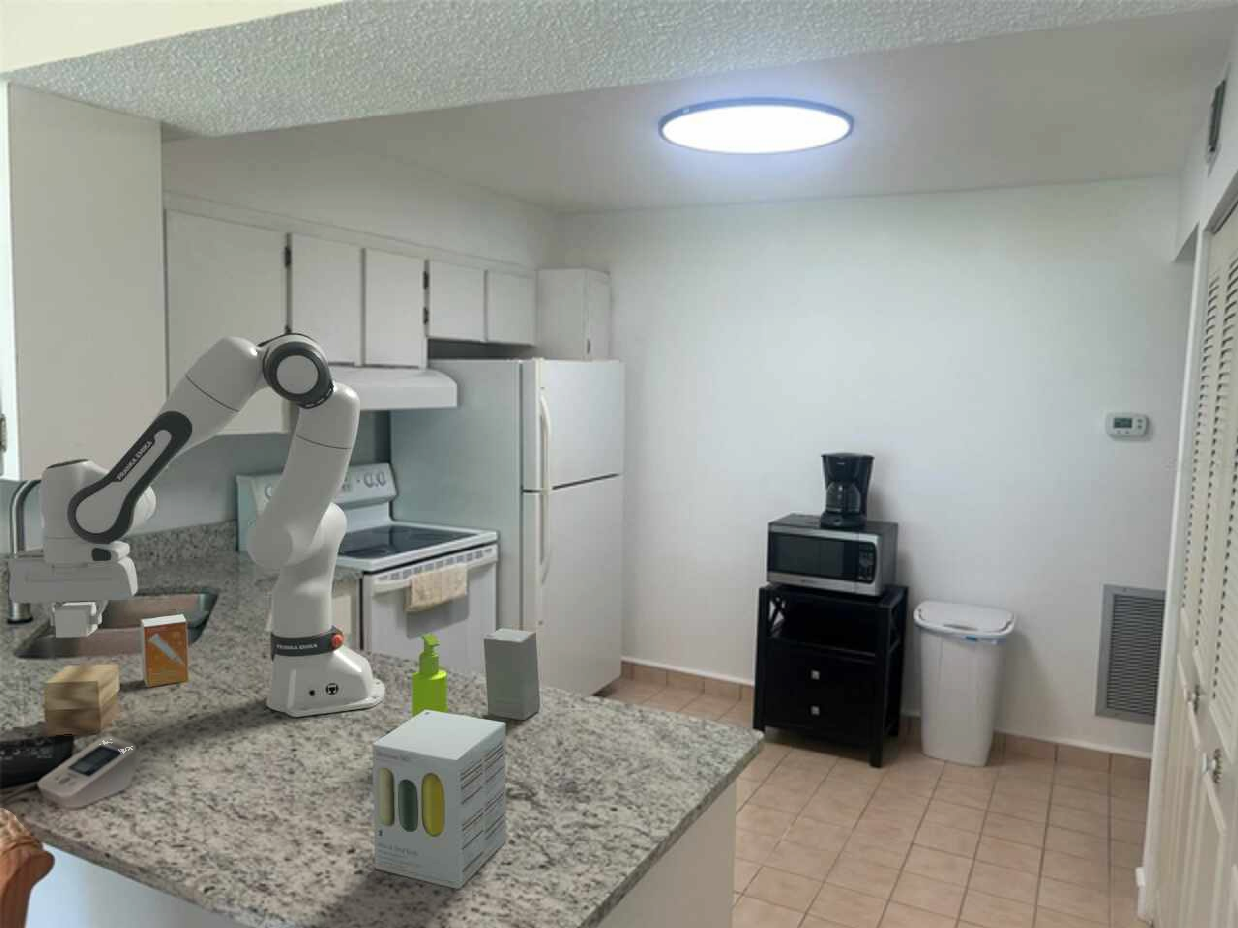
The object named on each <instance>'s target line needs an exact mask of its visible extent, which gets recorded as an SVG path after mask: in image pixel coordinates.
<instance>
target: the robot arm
mask: <svg viewBox="0 0 1238 928" xmlns="http://www.w3.org/2000/svg"><path fill="white" fill-rule="evenodd" d="M328 363H329V362H328V359H327V356H326V353H325V352H324V351H323V349H322V348H321V346H320V345H319V344H318V342H316V340H314V339H313V338H312V337H310V336H308V335H305V334H302V333H299V332H289V333H284V334H281V335H278V336H275V337H272V338H270V339H268V340H265V341H262V342H260V343H258V344H257V345H255V344H254V343H253V342H251V341H249V340H247V339H245V338H243V337H239V336H225V337H223V338H221V339H219V340H218V341H217V342H216V343H215V344H213V345H212V346H211V347H210V348H209V349H207V350H206V351H205V352H204V353H203V354H202V355H201V356H200V357H199V358H198V359H197V360H196V361H195V362H194V363H193V364H192V366H191V367H190V368H189V369H188V370H187V371H186V373H184V375H183V376H182V378H181V379H180V380H179V382H178V383H177V384H176V386H175V387H174V388H173V390H172V391H171V392H170V394H169V396H168V397H167V399H166V400H165V402H164V403H163V405H162V407H161V408H160V409H159V411H158V412H157V413H156V415H155V416H154V418H153V420H151V422H150V424H149V426H148V427H147V428H146V430H145V431H144V432H143V433H142V434H141V435H140V436H139V438H138V439H137V440H136V441H135V442H134V444H132V446H131V447H130V448H129V449H128V450H127V451H126V453H125V454H124V455H123V456H122V457H121V459H119V461H118V462H117V463H116V464H115V465H114V466H113V467H112V468H111V470H107V469H106V468H104V467H101V466H99V465H97V464H96V463H95V462H94V461H92V460H91V459H87V458H81V459H80V458H79V459H72V460H71V459H70V460H66V461H61V462H57V463H53V464H51V465H49V466H48V467H46V468H45V469H44V470H43V472H42V474H41V479H40V496H39V497H40V498H39V499H40V500H39V501H40V512H41V517H43V518H42V519H43V529H42V533H41V535H42V536H41V537H42V550H41V549H40V550H38V549H37V550H29V551H28V550H19V551H17V552H16V553H14V554H12V555H11V556H10V557H9V559H8V571H9V573H10V577H9V589H8V591H9V592H8V593H9V594H8V596H9V599H10V600H11V602H13V603H14V604H39V603H41V608H42V610H43V611H44V613H45V614H46V615H47V617H49V621H50V622H49V623H50V626H51V627H56V625H55V610H56V609H55V607H54V606H55V605H57V604H56V603H73V602H95V606H96V607H97V608H96V613H92V615H90V616H89V619H90V625H96V624H97V625H100V624H101V623H102V622H103V619H102V618H103V616H102V614H103V612H104V611H105V609H106V607H107V605H108V604H109V601H128V600H130V599H132V598H133V597H134V596H135V595H136V594H137V592H138V589H139V586H138V576H137V572H136V571H137V570H136V566H135V564H134V561H133V560H132V559H131V557H129V556H128V555H129V554H130V552H131V551H130V550H131V548H130V545H129V543H127V542H123V541H120V540H119V539H121V538H123V536H125V535H126V534H128V533H129V532H131V531H134V530H136V529H138V528H139V527H140V526H142V525H144V524H145V523H146V522H148V521H149V520H151V518H152V517H153V516H154V515H155V513H156V510H157V506H158V501H157V496H156V493H155V491H154V488H153V487H152V484H153V483H154V482H155V481H156V480H157V479H158V477H159V476H160V475H161V474H162V473H163V471H164V470H166V468H167V467H168V466H169V465H170V464H171V463H172V462H173V461H174V460H176V459H177V458H178V457H179V456H181V455H183V453H185V452H187V451H188V450H190V449H192V448H194V447H195V446H198V445H200V444H202V443H203V442H206V441H208V440H210V439H212V438H213V437H215V436H216V435H217V434H218V433H220V432H221V431H222V430H224V428H226V427H227V426H228V425H229V424H230V423H231V422H232V421H233V420H234V419H235V417H236V416H237V415H238V414H239V413H240V411H241V410H242V409H243V408H244V406H245V405H246V404H247V402H248V401H249V400H250V398H251V397H253V396H254V394H256V393H257V392H259V391H261V390H263V389H267V388H271V389H272V390H273V392H275V393H276V394H277V395H278V396H279V397H281V398H282V399H284V400H287V401H288V402H291V403H293V404H294V405H296V406H298V407H299V415H298V419H297V423H296V426H295V430H294V434H293V437H292V441H291V445H290V448H289V453H288V456H287V459H286V463H285V466H284V469H283V471H282V474H281V476H280V478H279V480H278V482H277V484H276V486H275V488H274V490H273V493H272V494H271V496H270V498H269V499H268V502H267V503H266V505H265V507H264V509H263V511H262V512H261V514H260V515H259V517H258V518H257V519H256V520H255V521H254V523H252V525H251V526H250V528H248V531H247V534H246V538H245V545H246V547H245V548H246V551H247V552H248V555H249V557H250V558H251V559H252V561H253V562H254V563H256V565H259V566H260V567H263V568H266V569H273V570H274V569H280V571H279V574H278V575H279V576H278V578H277V580H276V582H275V584H274V586H273V588H272V591H271V595H270V596H271V597H270V599H271V602H270V603H271V604H270V605H271V625H272V626H271V628H272V630H271V632H270V635H269V656H270V659H271V663H272V664H271V675H270V682H269V683H270V684H269V688H268V693H267V697H266V700H265V705H266V706H267V708H269V709H272V710H274V711H276V712H277V711H278V712H280V713H284V714H287V715H288V716H290V717H293V718H299V717H300V718H301V717H307V716H313V715H321V714H322V715H323V714H330V713H338V712H345V711H351V710H352V711H353V710H354V711H355V710H360V709H368V708H372V707H375V706H377V705H378V704H380V702H381V701H382V700H383V699H384V697H385V692H386V690H385V685H384V683H383V681H382V680H380V679H379V678H374V674H373V670H372V667H371V664H370V663H369V661H368V659H367V658H365V657H364V656H363V655H360V654H359V653H357V652H355V651H354V650H353V649H351V648H349V647H347V646H346V645H344V644H343V643H344V633H343V628H342V627H339V628H338V627H335V626H334V625H333V624H332V623H333V622H332V586H333V579H334V573H335V569H336V564H337V558H338V552H339V550H340V545H341V543H342V540H343V539H344V537H345V536H346V532H347V529H348V528H347V527H348V521H347V517H346V515H345V513H344V511H343V509H341V507H339V505H337V504H336V503H334V502H332V501H333V499H334V497H335V496H336V495H337V493H338V492H339V491H340V490H341V489H342V487H343V485H344V483H345V479H346V475H347V472H348V469H349V465H350V460H351V458H352V454H353V450H354V447H355V442H356V437H357V434H358V428H359V421H360V414H361V413H360V412H361V410H360V409H361V399H360V397H359V395H358V394H357V392H356V391H355V390H354V389H352V388H351V387H350V386H348V385H347V384H344V383H341V382H337V381H335V380H334V379H332V375H331V372H330V367H329V364H328Z"/></svg>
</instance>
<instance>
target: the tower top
mask: <svg viewBox="0 0 1238 928" xmlns="http://www.w3.org/2000/svg"><path fill="white" fill-rule="evenodd" d="M119 671H120V670H119V664H118V663H116V664H90V665H89V664H87V665H66V666H65V667H63V668H62V669H61V670H59V671H58V672H57V673H55V674H53V675H52V676H51V677H49V678H48V679H47V680H45V681H44V682H43V685H42V686H43V701H44V702H43V703H44V704H43V705H44V710H62V709H85V708H100V707H101V706H102V705H103V704H104V703H105V702H107V701H108V700H109V699H110V698H111V697H112V696H113V695H114V694H115V693H117V692H119V691H120V679H119V678H120V674H119Z"/></svg>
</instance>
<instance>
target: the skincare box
mask: <svg viewBox="0 0 1238 928" xmlns="http://www.w3.org/2000/svg"><path fill="white" fill-rule="evenodd" d="M537 647H538V646H537V632H536V631H527V630H517V629H510V628H504V627H503V628H502V627H501V628H499V629H497V630H496V631H494V632H492V633H489V634H488V635H486V636H484V638H483V650H484V651H483V652H484V661H485V662H484V663H485V664H484V665H485V682H486V699H487V714H488V716H493V717H501V718H506V719H513V720H518V721H526V720H527V719H529V717H531V716H532V715H534V714H535V713H537V712H539V711H540V708H541V700H540V698H541V697H540V696H541V695H540V685H539V684H540V683H539V682H540V681H539V666H538V665H539V663H538V649H537Z"/></svg>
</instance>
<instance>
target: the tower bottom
mask: <svg viewBox="0 0 1238 928" xmlns="http://www.w3.org/2000/svg"><path fill="white" fill-rule="evenodd" d="M118 692H119V691H118ZM118 692H117V693H115V694H114V695H113V696H112V697H111V698H110V699H109V700H108V701H107V702H105V703H104V704H103V705H102V706H101V707H100V708H85V709H62V710H45V709H44V711H43V712H44V713H43V714H44V724H45V727H44V729H45V737H46V736H47V737H56V736H55V735H60V734H72V735H71V736H74V735H75V736H76V735H91V734H92V735H93V734H102V733H103V732H104V730H105V729H107V727H108V726H109V725H110V724H111V723H112V722H113V721H114V720H115V718H116V717H118V715H119V713H120V711H119V693H118Z"/></svg>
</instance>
